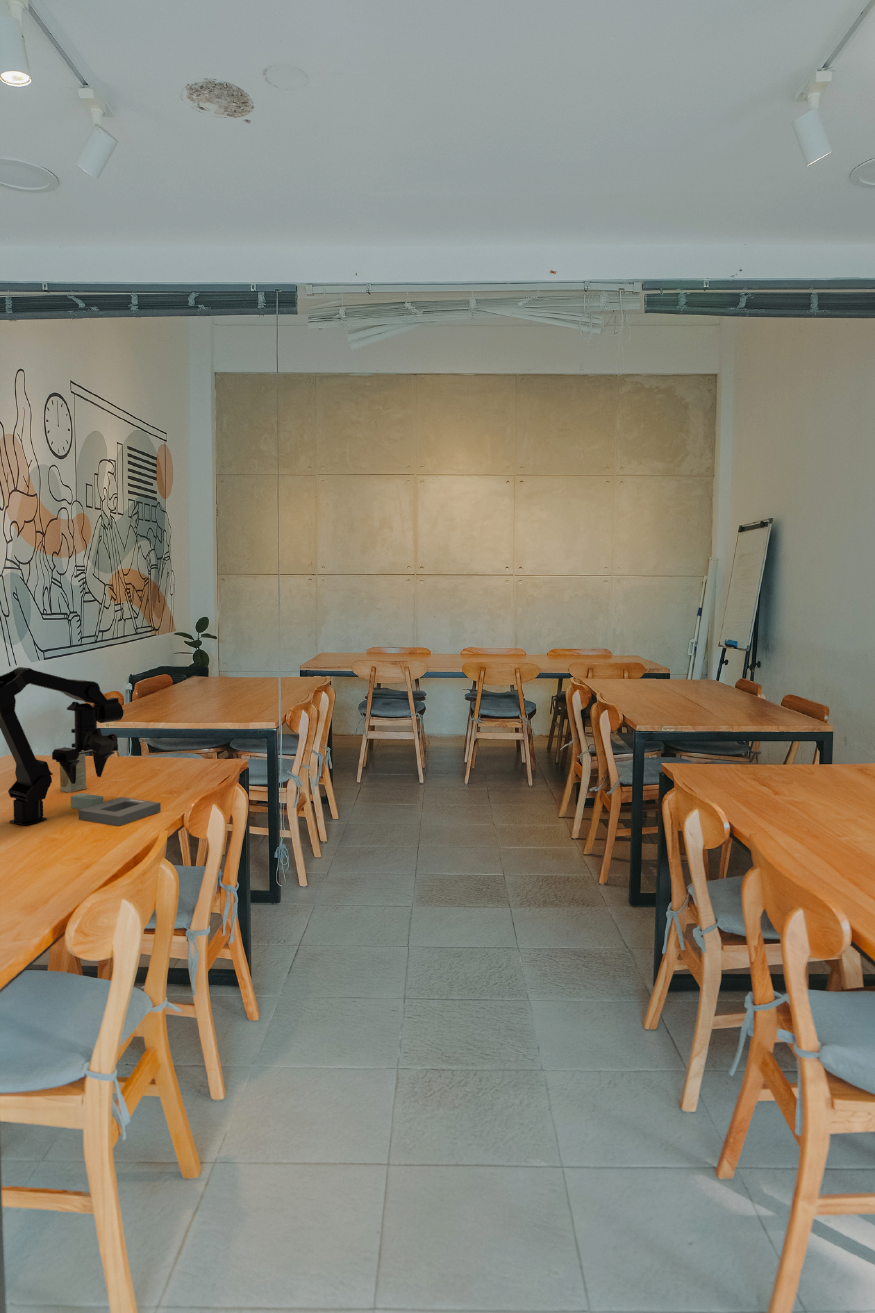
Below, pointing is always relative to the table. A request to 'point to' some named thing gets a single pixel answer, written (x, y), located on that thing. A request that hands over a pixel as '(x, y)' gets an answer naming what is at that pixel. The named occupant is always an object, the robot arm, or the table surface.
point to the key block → (85, 800)
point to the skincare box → (80, 777)
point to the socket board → (119, 811)
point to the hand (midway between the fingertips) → (86, 780)
